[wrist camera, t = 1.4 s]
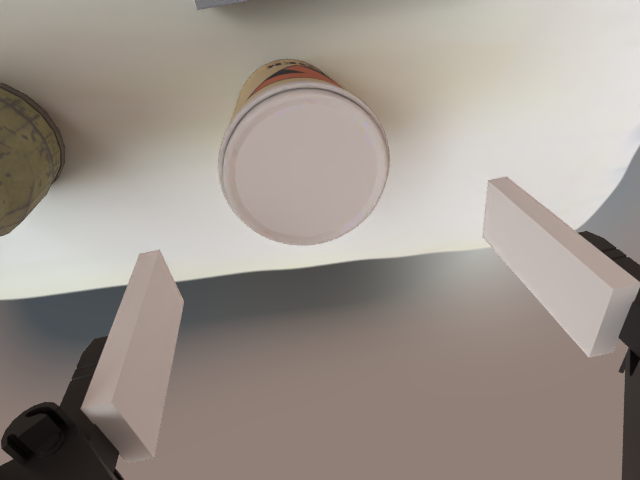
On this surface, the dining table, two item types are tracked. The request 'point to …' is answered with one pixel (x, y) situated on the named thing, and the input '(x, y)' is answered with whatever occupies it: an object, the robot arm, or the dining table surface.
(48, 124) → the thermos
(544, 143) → the dining table surface
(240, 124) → the coffee cup
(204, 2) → the tray
